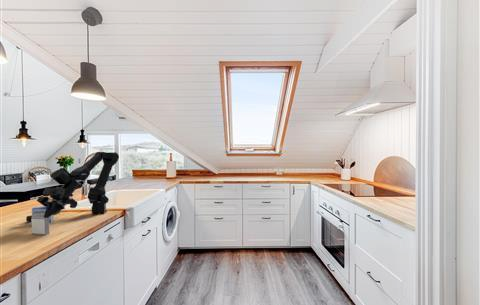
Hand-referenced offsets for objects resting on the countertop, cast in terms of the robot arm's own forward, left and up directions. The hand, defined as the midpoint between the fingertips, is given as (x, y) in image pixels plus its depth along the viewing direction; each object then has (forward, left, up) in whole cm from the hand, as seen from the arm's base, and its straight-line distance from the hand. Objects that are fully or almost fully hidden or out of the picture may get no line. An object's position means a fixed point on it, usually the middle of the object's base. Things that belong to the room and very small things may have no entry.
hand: (44, 217), depth 103 cm
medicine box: (+10, -17, -7) cm, 21 cm away
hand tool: (+15, -28, -7) cm, 32 cm away
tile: (+1, +2, -7) cm, 7 cm away
